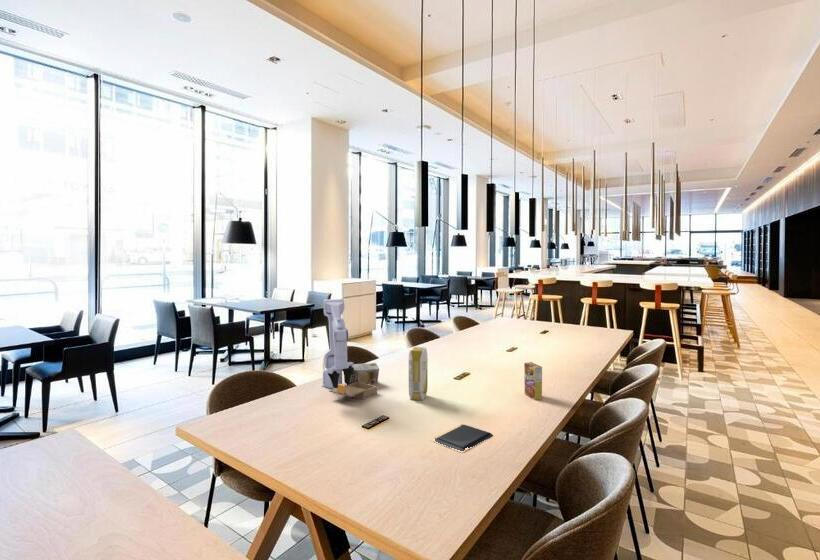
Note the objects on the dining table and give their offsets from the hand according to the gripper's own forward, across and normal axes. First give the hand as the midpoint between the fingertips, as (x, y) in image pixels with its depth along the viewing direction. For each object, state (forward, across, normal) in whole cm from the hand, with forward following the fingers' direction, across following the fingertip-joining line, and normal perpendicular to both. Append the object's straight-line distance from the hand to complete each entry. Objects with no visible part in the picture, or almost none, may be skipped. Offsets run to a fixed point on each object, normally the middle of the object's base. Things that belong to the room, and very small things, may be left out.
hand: (341, 385), depth 199 cm
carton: (+7, +13, 0) cm, 15 cm away
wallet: (+8, -4, -63) cm, 64 cm away
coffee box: (+2, +31, +4) cm, 31 cm away
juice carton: (+8, +24, -26) cm, 36 cm away
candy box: (+8, +54, -70) cm, 89 cm away
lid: (+4, +4, 0) cm, 6 cm away
